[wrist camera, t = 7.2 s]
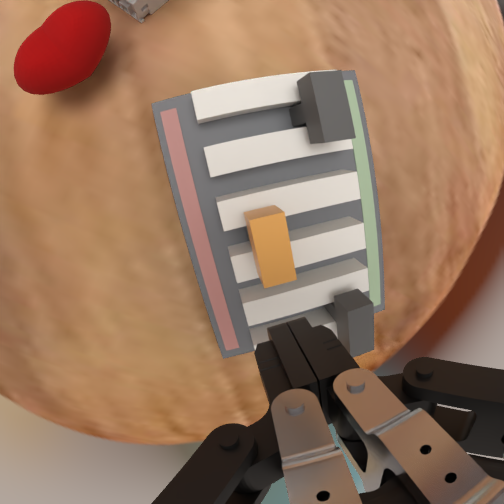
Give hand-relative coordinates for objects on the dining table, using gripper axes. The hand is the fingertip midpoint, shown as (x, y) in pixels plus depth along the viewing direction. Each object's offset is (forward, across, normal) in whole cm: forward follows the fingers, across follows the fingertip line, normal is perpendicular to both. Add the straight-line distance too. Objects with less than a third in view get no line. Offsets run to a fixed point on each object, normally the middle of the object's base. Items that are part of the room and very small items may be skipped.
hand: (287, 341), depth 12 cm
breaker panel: (+20, -5, 0) cm, 21 cm away
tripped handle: (+17, -2, 0) cm, 17 cm away
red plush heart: (+21, +10, -20) cm, 31 cm away
